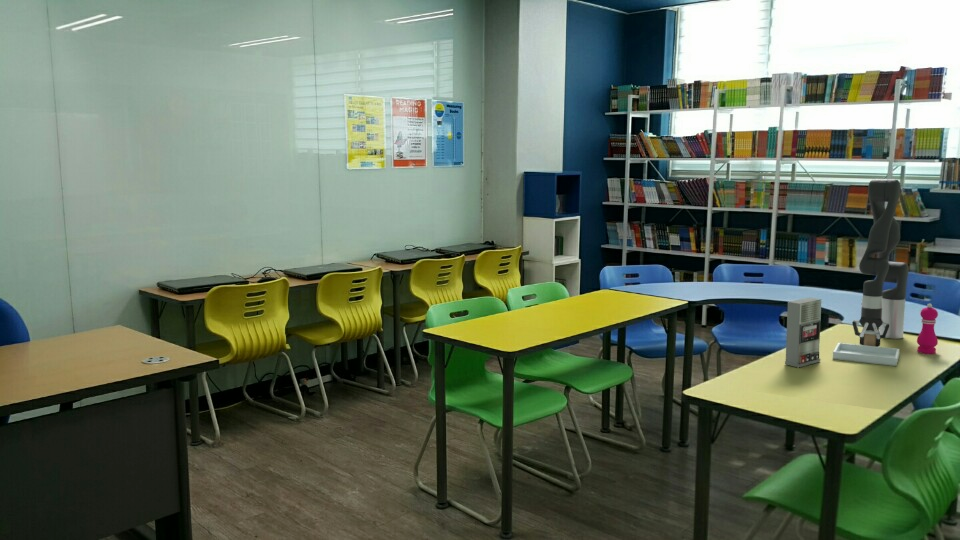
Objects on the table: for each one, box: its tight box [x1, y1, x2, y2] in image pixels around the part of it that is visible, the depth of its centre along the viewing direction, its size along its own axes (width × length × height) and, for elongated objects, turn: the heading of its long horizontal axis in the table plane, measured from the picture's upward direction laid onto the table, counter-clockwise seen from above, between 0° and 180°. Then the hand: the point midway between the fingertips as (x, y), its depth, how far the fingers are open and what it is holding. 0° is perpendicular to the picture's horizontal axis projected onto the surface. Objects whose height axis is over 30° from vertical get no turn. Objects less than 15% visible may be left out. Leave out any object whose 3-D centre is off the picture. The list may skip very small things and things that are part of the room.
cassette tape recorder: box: [784, 297, 822, 369], centre depth 279 cm, size 14×6×25 cm, turn 122°
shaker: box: [863, 330, 877, 346], centre depth 298 cm, size 5×5×8 cm
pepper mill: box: [916, 303, 939, 355], centre depth 291 cm, size 7×7×20 cm
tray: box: [832, 342, 900, 367], centre depth 287 cm, size 16×22×3 cm
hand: (869, 346), depth 298 cm, fingers closed on shaker, 4 cm apart
